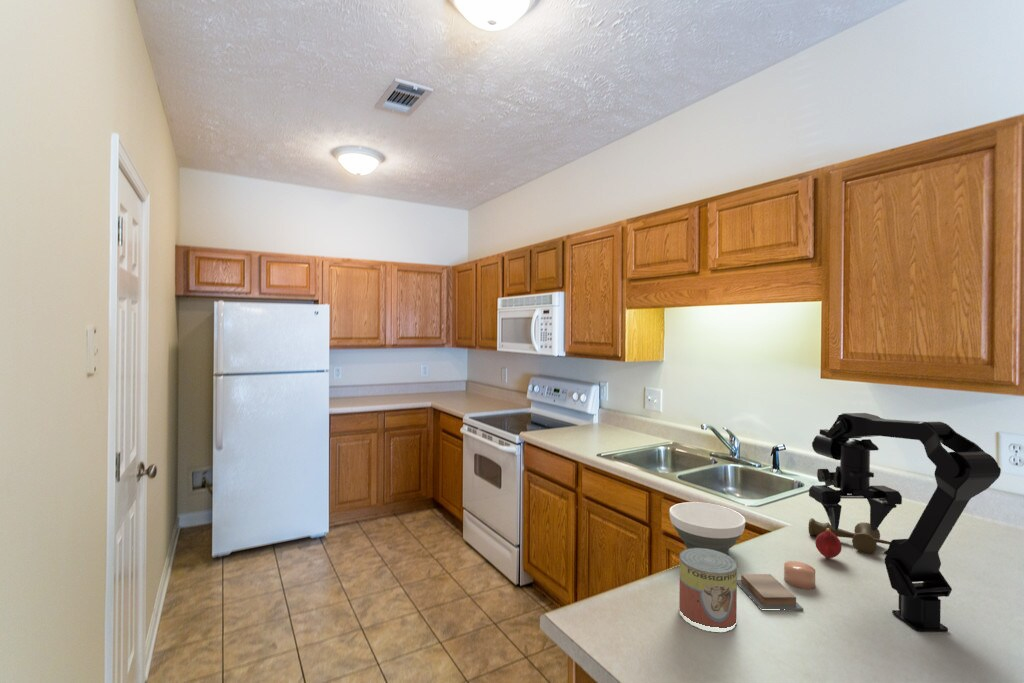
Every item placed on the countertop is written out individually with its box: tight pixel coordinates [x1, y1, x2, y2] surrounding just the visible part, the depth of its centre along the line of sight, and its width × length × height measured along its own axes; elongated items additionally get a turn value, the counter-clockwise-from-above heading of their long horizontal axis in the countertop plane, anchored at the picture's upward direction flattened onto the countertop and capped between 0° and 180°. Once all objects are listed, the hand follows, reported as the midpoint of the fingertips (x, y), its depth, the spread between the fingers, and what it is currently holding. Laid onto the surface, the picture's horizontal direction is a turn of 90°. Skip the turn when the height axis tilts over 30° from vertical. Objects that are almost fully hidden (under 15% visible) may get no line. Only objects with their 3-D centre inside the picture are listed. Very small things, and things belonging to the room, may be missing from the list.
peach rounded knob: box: [783, 560, 816, 590], centre depth 114 cm, size 6×6×4 cm
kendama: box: [807, 517, 891, 555], centre depth 135 cm, size 6×10×20 cm
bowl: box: [669, 501, 746, 555], centre depth 132 cm, size 20×20×10 cm
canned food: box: [678, 548, 738, 628], centre depth 100 cm, size 11×11×12 cm
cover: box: [740, 573, 797, 606], centre depth 108 cm, size 10×7×2 cm
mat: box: [737, 579, 804, 611], centre depth 108 cm, size 12×9×1 cm
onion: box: [814, 528, 843, 560], centre depth 126 cm, size 6×6×8 cm
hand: (854, 530), depth 114 cm, fingers open, 9 cm apart
